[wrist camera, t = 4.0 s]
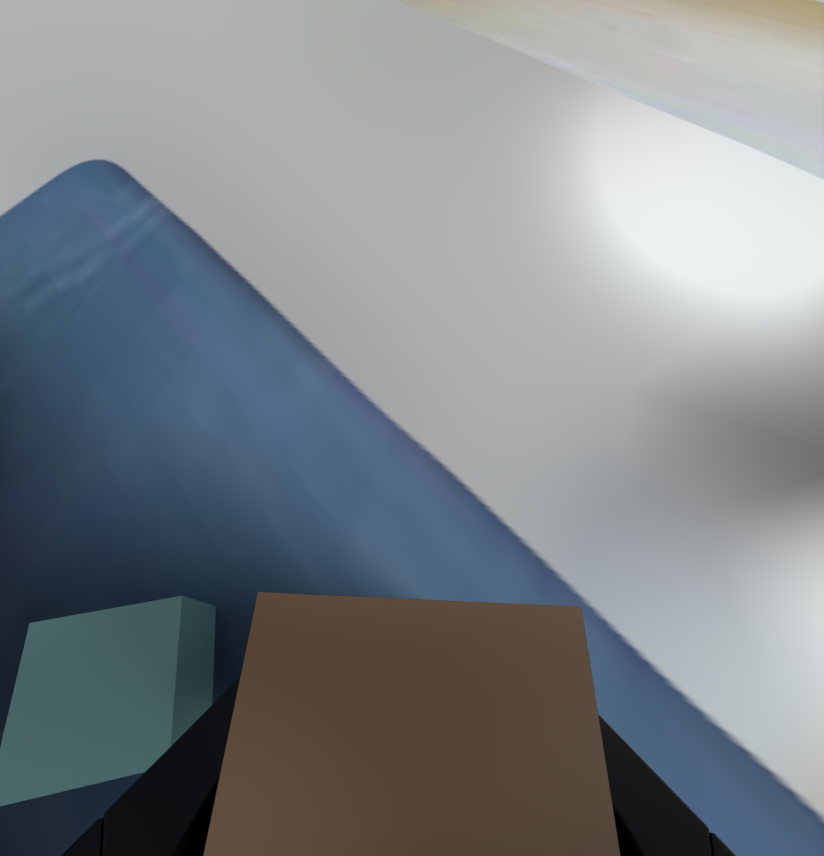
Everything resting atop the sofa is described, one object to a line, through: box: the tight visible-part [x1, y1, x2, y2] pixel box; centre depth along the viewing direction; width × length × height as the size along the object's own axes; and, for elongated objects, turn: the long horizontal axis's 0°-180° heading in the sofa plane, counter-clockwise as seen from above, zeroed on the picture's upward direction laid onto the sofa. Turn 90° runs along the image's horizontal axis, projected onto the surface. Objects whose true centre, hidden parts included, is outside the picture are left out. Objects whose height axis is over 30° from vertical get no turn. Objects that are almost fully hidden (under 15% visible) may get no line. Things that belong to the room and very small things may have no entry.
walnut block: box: [203, 592, 620, 856], centre depth 9 cm, size 4×4×10 cm
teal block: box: [0, 596, 216, 806], centre depth 12 cm, size 4×4×3 cm
